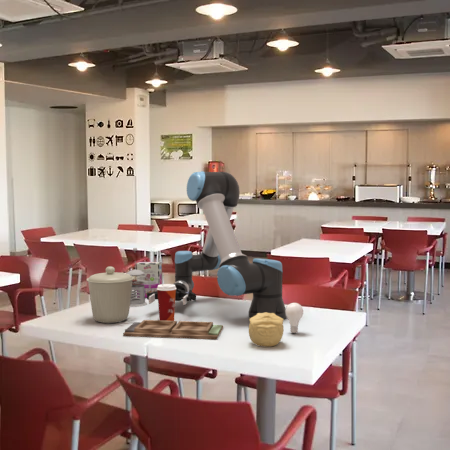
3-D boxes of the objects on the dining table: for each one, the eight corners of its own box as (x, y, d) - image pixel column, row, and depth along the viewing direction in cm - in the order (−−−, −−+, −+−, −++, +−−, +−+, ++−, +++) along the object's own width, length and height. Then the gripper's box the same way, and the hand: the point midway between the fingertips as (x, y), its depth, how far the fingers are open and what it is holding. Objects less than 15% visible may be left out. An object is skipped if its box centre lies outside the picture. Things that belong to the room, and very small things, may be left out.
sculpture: (249, 349, 190) (249, 316, 190) (247, 339, 202) (247, 308, 202) (285, 349, 190) (285, 316, 190) (281, 339, 202) (281, 308, 202)
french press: (128, 301, 265) (127, 246, 264) (153, 302, 264) (152, 246, 262) (121, 306, 256) (120, 248, 254) (147, 307, 254) (146, 249, 252)
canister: (111, 313, 243) (110, 262, 241) (144, 318, 233) (143, 265, 231) (77, 321, 228) (76, 267, 227) (110, 328, 218) (109, 271, 216)
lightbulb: (298, 336, 206) (298, 305, 205) (282, 334, 209) (282, 303, 208) (306, 332, 211) (306, 302, 210) (289, 330, 214) (290, 300, 213)
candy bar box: (162, 296, 277) (162, 261, 276) (159, 298, 272) (159, 263, 271) (139, 295, 279) (139, 261, 278) (136, 298, 274) (135, 262, 273)
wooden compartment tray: (223, 327, 218) (223, 321, 218) (216, 339, 202) (216, 332, 202) (136, 325, 222) (136, 318, 222) (123, 336, 207) (123, 329, 206)
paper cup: (175, 323, 224) (175, 287, 223) (155, 323, 225) (155, 287, 224) (177, 318, 232) (177, 283, 231) (158, 318, 232) (157, 283, 231)
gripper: (207, 300, 250) (198, 311, 229) (150, 298, 254) (135, 309, 233) (207, 282, 249) (198, 292, 229) (150, 281, 253) (135, 290, 232)
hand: (166, 300), depth 231 cm, fingers open, 13 cm apart
